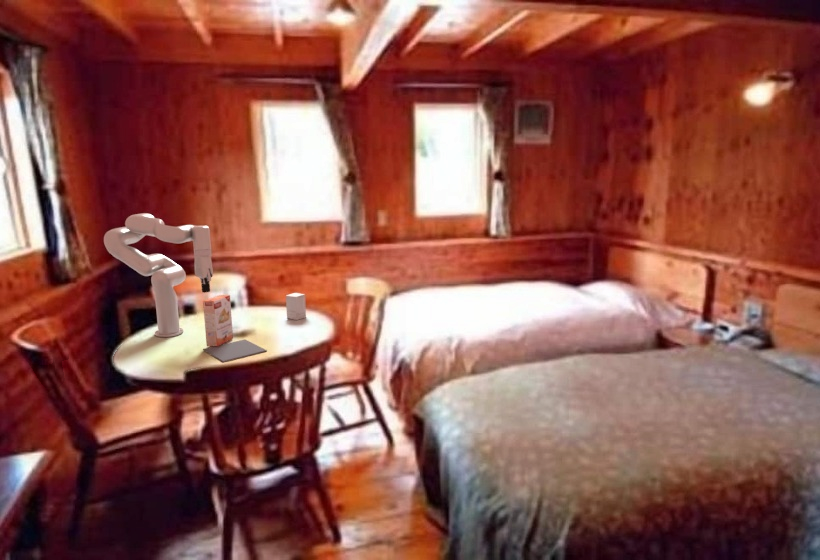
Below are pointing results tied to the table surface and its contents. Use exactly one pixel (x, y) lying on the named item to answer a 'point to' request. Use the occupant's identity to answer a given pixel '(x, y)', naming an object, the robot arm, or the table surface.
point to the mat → (234, 350)
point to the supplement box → (296, 306)
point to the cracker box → (218, 320)
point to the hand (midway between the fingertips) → (206, 291)
